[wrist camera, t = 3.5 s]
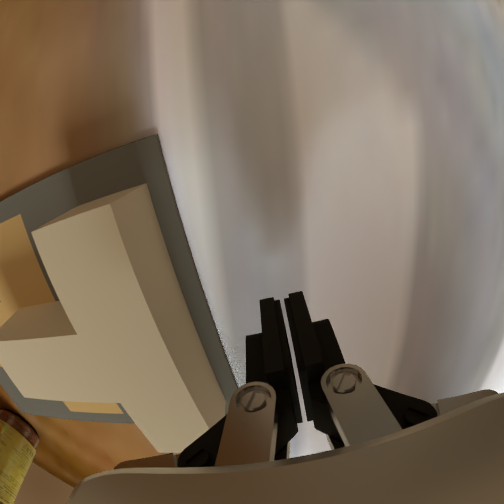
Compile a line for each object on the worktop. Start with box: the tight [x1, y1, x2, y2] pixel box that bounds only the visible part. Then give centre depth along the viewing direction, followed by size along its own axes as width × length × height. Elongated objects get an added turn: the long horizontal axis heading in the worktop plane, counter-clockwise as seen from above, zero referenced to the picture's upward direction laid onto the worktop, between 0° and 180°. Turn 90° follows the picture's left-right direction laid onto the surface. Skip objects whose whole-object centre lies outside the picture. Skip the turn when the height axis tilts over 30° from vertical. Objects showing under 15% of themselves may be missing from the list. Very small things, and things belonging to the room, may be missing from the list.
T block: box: [0, 183, 226, 453], centre depth 14 cm, size 12×14×4 cm
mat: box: [0, 135, 238, 423], centre depth 17 cm, size 23×18×1 cm
